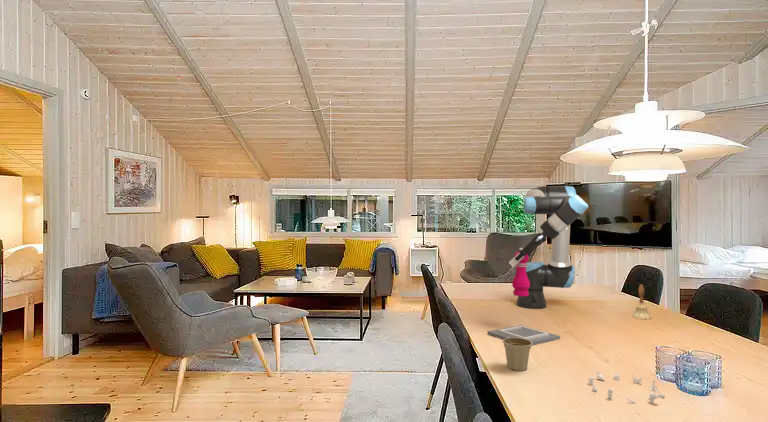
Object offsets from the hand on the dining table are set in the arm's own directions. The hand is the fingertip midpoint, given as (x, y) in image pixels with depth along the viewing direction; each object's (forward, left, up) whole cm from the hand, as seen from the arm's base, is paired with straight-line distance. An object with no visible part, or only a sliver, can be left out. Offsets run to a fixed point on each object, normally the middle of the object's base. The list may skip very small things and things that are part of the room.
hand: (512, 264), depth 198 cm
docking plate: (+9, -3, -28) cm, 30 cm away
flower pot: (+33, -34, -29) cm, 55 cm away
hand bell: (+16, +73, -29) cm, 80 cm away
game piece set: (+62, -22, -29) cm, 72 cm away
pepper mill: (+3, +2, -13) cm, 14 cm away
